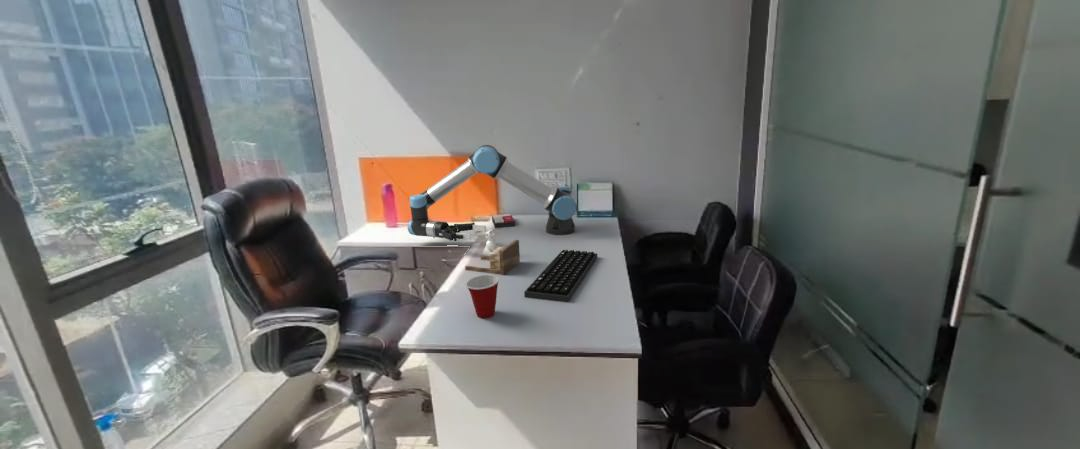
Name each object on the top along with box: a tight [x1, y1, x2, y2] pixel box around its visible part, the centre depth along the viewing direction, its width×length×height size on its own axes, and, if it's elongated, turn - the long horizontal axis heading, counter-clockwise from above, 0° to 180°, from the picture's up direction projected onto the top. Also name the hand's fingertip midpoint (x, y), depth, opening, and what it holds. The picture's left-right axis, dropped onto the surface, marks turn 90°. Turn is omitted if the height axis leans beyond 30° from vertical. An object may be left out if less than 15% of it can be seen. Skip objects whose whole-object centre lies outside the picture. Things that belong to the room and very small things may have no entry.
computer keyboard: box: [523, 249, 598, 303], centre depth 177 cm, size 45×16×4 cm, turn 160°
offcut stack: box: [489, 246, 505, 270], centre depth 187 cm, size 5×10×7 cm, turn 161°
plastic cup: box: [465, 274, 500, 319], centre depth 147 cm, size 11×11×12 cm
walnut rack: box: [464, 239, 521, 276], centre depth 189 cm, size 18×15×10 cm
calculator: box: [491, 213, 516, 229], centre depth 254 cm, size 11×4×15 cm
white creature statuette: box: [482, 229, 498, 256], centre depth 201 cm, size 10×9×12 cm
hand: (478, 232), depth 205 cm, fingers open, 13 cm apart
